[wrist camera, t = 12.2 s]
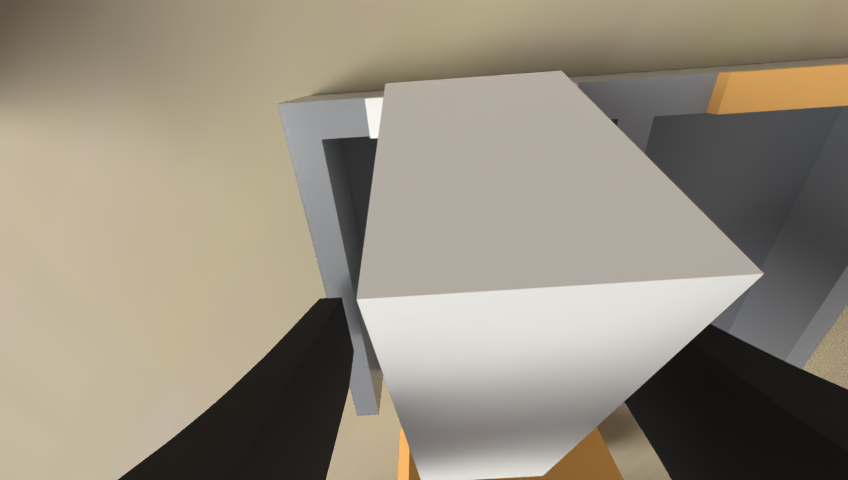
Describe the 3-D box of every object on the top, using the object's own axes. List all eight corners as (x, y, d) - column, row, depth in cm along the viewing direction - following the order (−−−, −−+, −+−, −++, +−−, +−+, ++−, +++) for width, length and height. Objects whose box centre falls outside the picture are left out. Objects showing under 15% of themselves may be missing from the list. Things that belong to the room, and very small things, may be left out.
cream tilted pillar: (504, 318, 13) (542, 476, 9) (417, 324, 13) (421, 482, 9) (561, 70, 6) (764, 273, 3) (385, 83, 6) (356, 299, 3)
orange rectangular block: (587, 408, 16) (651, 535, 12) (561, 447, 18) (609, 572, 13) (410, 389, 15) (407, 519, 11) (400, 432, 17) (393, 560, 12)
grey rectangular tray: (730, 342, 14) (794, 398, 12) (366, 363, 14) (356, 423, 12) (881, 54, 9) (1051, 49, 6) (309, 95, 9) (271, 105, 7)
